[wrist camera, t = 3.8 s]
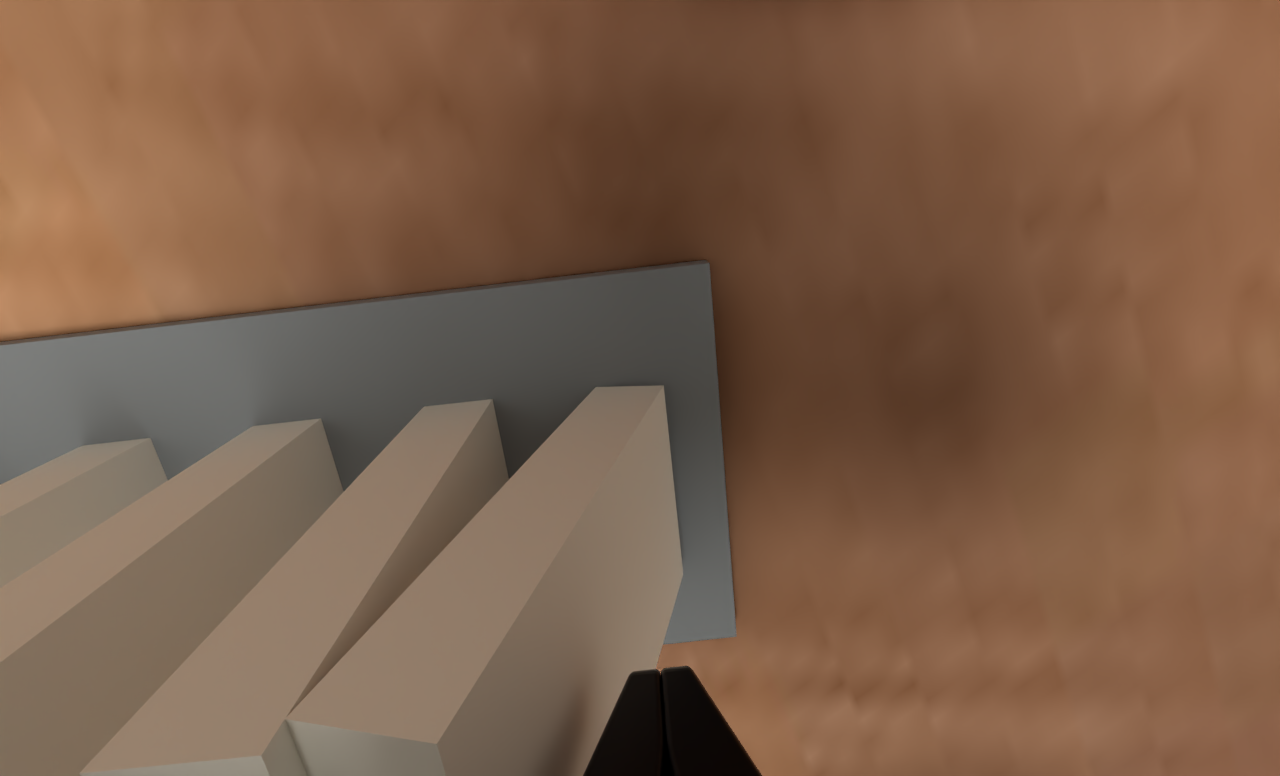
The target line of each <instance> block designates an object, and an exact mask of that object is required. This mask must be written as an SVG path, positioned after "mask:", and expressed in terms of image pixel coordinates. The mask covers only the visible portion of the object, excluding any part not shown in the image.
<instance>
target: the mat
mask: <svg viewBox="0 0 1280 776" xmlns="http://www.w3.org/2000/svg"><path fill="white" fill-rule="evenodd" d="M659 385H664V393H665V403H666V413H667V422H668V432H669V441H670V451H671V461H672V470H673V480H674V490H675V499H676V509H677V518H678V528H679V538H680V547H681V557H682V567H683V577H682V580H681V584H680V587H679V591H678V594H677V597H676V601H675V604H674V608H673V611H672V615H671V618H670V621H669V625H668V628H667V632H666V635H665V639H664V642H663V645H664V644H673V643H682V642H691V641H700V640H709V639H719V638H728V637H737V636H736V622H735V608H734V594H733V581H732V567H731V553H730V539H729V525H728V512H727V498H726V484H725V470H724V456H723V442H722V429H721V415H720V401H719V387H718V373H717V360H716V346H715V332H714V318H713V304H712V290H711V277H710V263H709V262H708V261H707V260H700V261H691V262H683V263H674V264H666V265H657V266H649V267H640V268H631V269H623V270H614V271H606V272H597V273H588V274H580V275H571V276H563V277H554V278H545V279H537V280H528V281H520V282H511V283H502V284H494V285H485V286H477V287H468V288H459V289H451V290H442V291H434V292H425V293H416V294H408V295H399V296H391V297H382V298H374V299H365V300H356V301H348V302H339V303H331V304H322V305H313V306H305V307H296V308H288V309H279V310H270V311H262V312H253V313H245V314H236V315H227V316H219V317H210V318H202V319H193V320H184V321H176V322H167V323H159V324H150V325H141V326H133V327H124V328H116V329H107V330H98V331H90V332H81V333H73V334H64V335H56V336H47V337H38V338H30V339H21V340H13V341H4V342H0V485H1V484H3V483H5V482H7V481H9V480H11V479H13V478H15V477H17V476H20V475H22V474H24V473H26V472H28V471H30V470H32V469H34V468H36V467H38V466H41V465H43V464H45V463H47V462H49V461H51V460H53V459H55V458H57V457H59V456H62V455H64V454H66V453H68V452H70V451H72V450H74V449H76V448H78V447H81V446H84V445H92V444H101V443H110V442H119V441H127V440H136V439H145V438H151V441H152V443H153V446H154V448H155V451H156V453H157V455H158V458H159V460H160V463H161V465H162V467H163V470H164V472H165V475H166V477H167V480H169V479H171V478H173V477H174V476H176V475H177V474H179V473H180V472H182V471H184V470H185V469H187V468H188V467H190V466H191V465H193V464H194V463H196V462H198V461H199V460H201V459H202V458H204V457H205V456H207V455H208V454H210V453H212V452H213V451H215V450H216V449H218V448H219V447H221V446H222V445H224V444H226V443H227V442H229V441H230V440H232V439H233V438H235V437H236V436H238V435H240V434H241V433H243V432H244V431H246V430H247V429H249V428H250V427H252V426H259V425H267V424H276V423H285V422H293V421H302V420H311V419H320V418H321V420H322V423H323V427H324V430H325V433H326V436H327V440H328V443H329V446H330V449H331V453H332V456H333V459H334V462H335V466H336V469H337V472H338V475H339V479H340V482H341V485H342V488H343V492H344V491H345V490H346V489H347V488H348V487H349V486H350V485H351V484H352V483H353V481H354V480H355V479H356V478H357V477H358V476H359V475H360V474H361V473H362V472H363V471H364V470H365V469H366V468H367V467H368V466H369V464H370V463H371V462H372V461H373V460H374V459H375V458H376V457H377V456H378V455H379V454H380V453H381V452H382V451H383V450H384V448H385V447H386V446H387V445H388V444H389V443H390V442H391V441H392V440H393V439H394V438H395V437H396V436H397V435H398V434H399V433H400V431H401V430H402V429H403V428H404V427H405V426H406V425H407V424H408V423H409V422H410V421H411V420H412V419H413V418H414V417H415V415H416V414H417V413H418V412H419V411H420V410H421V409H422V408H423V407H425V406H434V405H443V404H452V403H461V402H470V401H479V400H488V399H493V404H494V409H495V414H496V418H497V423H498V428H499V433H500V438H501V443H502V448H503V453H504V458H505V462H506V467H507V472H508V477H509V479H510V478H511V477H512V476H513V475H514V474H515V473H516V472H517V471H518V470H519V468H520V467H521V466H522V465H523V464H524V463H525V462H526V461H527V460H528V459H529V458H530V457H531V456H532V455H533V454H534V452H535V451H536V450H537V449H538V448H539V447H540V446H541V445H542V444H543V443H544V442H545V441H546V440H547V439H548V437H549V436H550V435H551V434H552V433H553V432H554V431H555V430H556V429H557V428H558V427H559V426H560V425H561V424H562V423H563V421H564V420H565V419H566V418H567V417H568V416H569V415H570V414H571V413H572V412H573V411H574V410H575V409H576V408H577V407H578V405H579V404H580V403H581V402H582V401H583V400H584V399H585V398H586V397H587V396H588V395H589V394H590V393H591V392H592V391H593V389H594V388H595V387H614V386H659Z"/></svg>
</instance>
